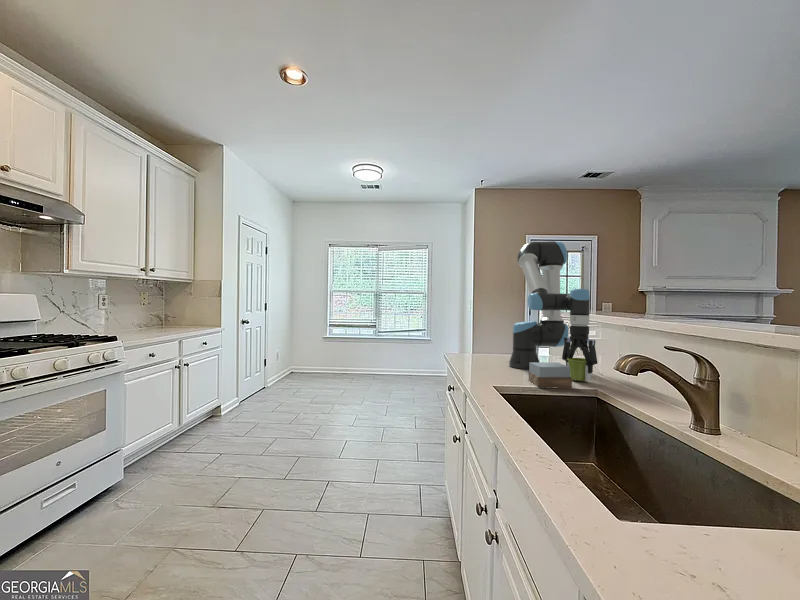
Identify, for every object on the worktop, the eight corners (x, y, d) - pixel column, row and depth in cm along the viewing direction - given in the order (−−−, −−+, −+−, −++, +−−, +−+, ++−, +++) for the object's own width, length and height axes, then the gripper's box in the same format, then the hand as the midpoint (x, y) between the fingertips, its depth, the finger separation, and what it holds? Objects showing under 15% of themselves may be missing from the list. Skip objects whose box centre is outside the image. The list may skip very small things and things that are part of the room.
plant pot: (586, 377, 179) (586, 357, 179) (594, 382, 170) (594, 361, 170) (564, 377, 180) (564, 357, 180) (570, 381, 171) (571, 360, 171)
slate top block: (529, 372, 173) (529, 362, 173) (557, 372, 173) (557, 362, 173) (539, 377, 161) (539, 366, 161) (570, 377, 161) (570, 367, 161)
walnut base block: (528, 382, 174) (528, 371, 174) (559, 382, 173) (560, 371, 173) (537, 388, 161) (538, 377, 161) (571, 389, 160) (571, 377, 160)
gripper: (553, 323, 182) (552, 375, 182) (595, 327, 164) (595, 384, 164) (564, 323, 186) (564, 374, 186) (608, 326, 167) (607, 382, 167)
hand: (578, 378), depth 175 cm, fingers closed on plant pot, 8 cm apart
